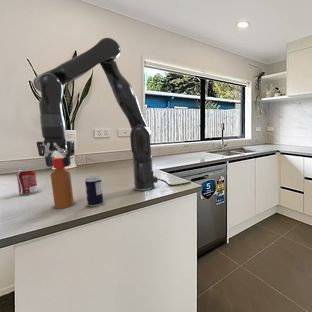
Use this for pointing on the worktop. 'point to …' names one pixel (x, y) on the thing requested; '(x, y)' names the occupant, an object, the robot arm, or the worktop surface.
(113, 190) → the worktop surface
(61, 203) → the sauce bottle
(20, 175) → the red food package
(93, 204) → the beverage can
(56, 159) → the cap
